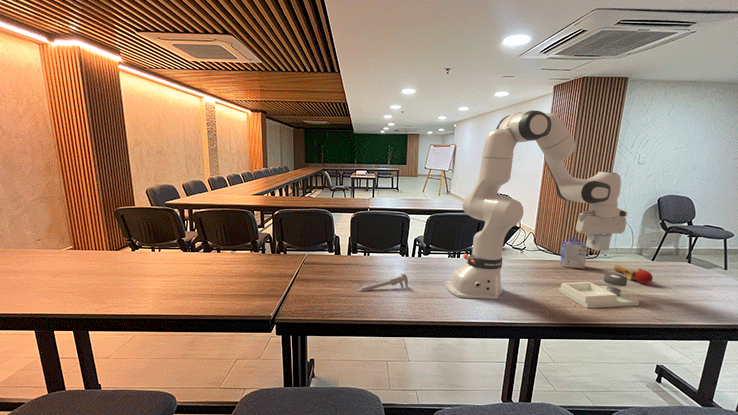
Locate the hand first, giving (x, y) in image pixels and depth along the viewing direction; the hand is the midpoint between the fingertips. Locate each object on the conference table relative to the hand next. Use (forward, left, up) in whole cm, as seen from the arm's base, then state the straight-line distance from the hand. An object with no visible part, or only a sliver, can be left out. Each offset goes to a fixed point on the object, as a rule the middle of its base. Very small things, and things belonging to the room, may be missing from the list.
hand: (597, 243), depth 129 cm
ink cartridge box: (+11, +23, -19) cm, 32 cm away
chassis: (-8, -11, -19) cm, 23 cm away
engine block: (0, 0, -2) cm, 2 cm away
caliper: (-90, +5, -19) cm, 92 cm away
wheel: (-1, -11, -13) cm, 17 cm away
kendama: (+27, +6, -19) cm, 34 cm away
